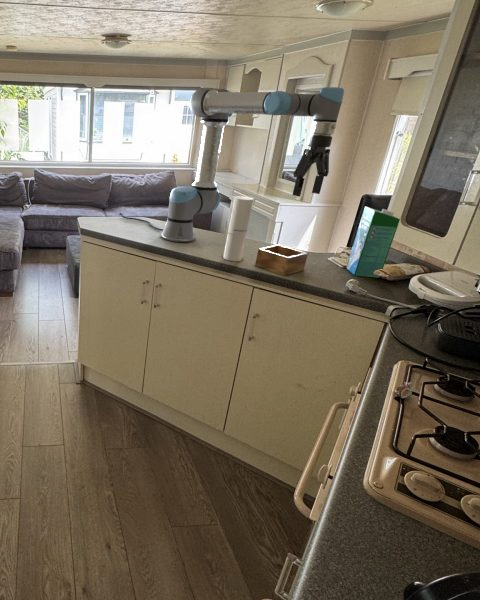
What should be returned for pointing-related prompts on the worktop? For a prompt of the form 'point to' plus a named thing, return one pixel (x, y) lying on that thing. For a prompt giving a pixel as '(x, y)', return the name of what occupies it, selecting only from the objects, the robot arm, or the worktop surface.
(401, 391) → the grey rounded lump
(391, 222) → the milk carton
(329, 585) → the worktop surface
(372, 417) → the worktop surface
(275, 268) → the holder
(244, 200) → the cylindrical container
